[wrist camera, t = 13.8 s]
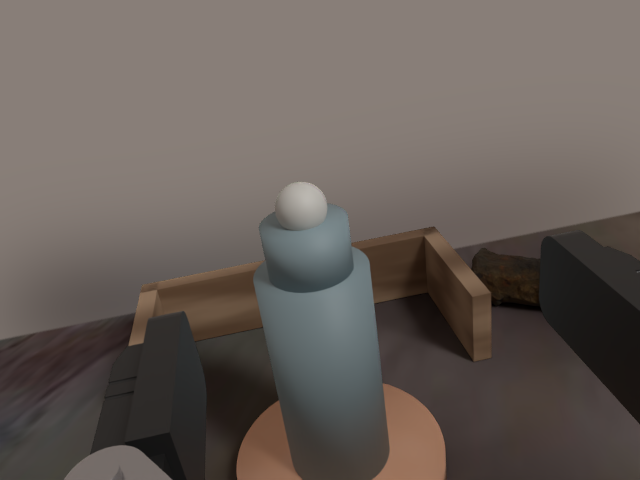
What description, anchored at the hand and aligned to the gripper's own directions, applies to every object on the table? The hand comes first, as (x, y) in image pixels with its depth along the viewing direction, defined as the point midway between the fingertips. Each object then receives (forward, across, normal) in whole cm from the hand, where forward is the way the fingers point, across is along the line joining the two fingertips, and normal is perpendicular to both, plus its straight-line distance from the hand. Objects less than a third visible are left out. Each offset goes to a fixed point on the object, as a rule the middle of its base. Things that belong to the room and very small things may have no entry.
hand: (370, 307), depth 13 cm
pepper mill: (+12, 0, +16) cm, 20 cm away
